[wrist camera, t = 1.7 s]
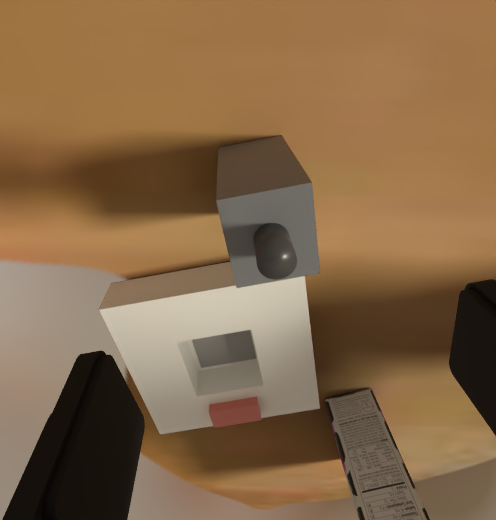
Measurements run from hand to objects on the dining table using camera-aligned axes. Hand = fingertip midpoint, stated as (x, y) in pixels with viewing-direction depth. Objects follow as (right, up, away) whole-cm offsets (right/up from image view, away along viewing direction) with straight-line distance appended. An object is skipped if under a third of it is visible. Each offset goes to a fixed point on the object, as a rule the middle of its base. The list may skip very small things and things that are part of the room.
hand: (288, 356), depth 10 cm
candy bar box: (+10, -14, +28) cm, 33 cm away
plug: (-1, +8, +14) cm, 16 cm away
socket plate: (-3, -4, +21) cm, 21 cm away
